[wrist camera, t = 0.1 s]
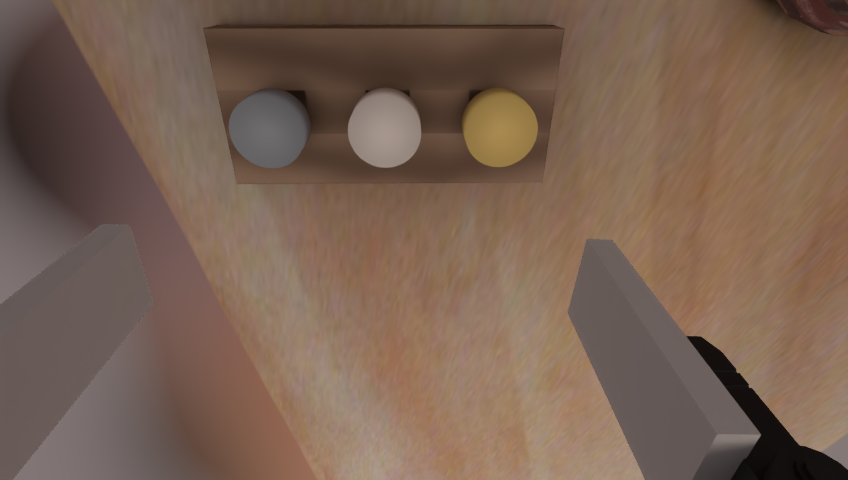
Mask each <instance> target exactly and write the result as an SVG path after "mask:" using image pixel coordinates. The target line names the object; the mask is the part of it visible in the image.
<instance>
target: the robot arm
mask: <svg viewBox="0 0 848 480" xmlns="http://www.w3.org/2000/svg"><path fill="white" fill-rule="evenodd" d="M153 303H154V302H153V299H152V295H151V292H150V289H149V286H148V282H147V279H146V276H145V273H144V269H143V266H142V263H141V260H140V256H139V253H138V250H137V247H136V244H135V240H134V237H133V234H132V230H131V227H130V225H115V224H102V225H100V226H99V227H98V228H96V229H95V230H94V231H93V232H91V233H90V234H89V235H88V236H86V237H85V238H84V239H82V240H81V241H80V242H79V243H77V244H76V245H75V246H74V247H72V248H71V249H70V250H69V251H67V252H66V253H65V254H64V255H62V256H61V257H60V258H59V259H57V260H56V261H55V262H53V263H52V264H51V265H50V266H48V267H47V268H46V269H45V270H43V271H42V272H41V273H40V274H38V275H37V276H36V277H34V278H33V279H32V280H31V281H29V282H28V283H27V284H26V285H24V286H23V287H22V288H20V289H19V290H18V291H17V292H15V293H14V294H13V295H12V296H10V297H9V298H8V299H7V300H5V301H4V302H3V303H2V304H0V480H13V479H14V477H15V476H16V475H17V474H18V473H19V471H20V470H21V469H22V468H23V466H24V465H25V464H26V463H27V461H28V460H29V459H30V457H31V456H32V455H33V454H34V452H35V451H36V450H37V449H38V447H39V446H40V445H41V444H42V442H43V441H44V440H45V439H46V437H47V436H48V435H49V434H50V432H51V431H52V430H53V429H54V427H55V426H56V425H57V424H58V422H59V421H60V420H61V418H62V417H63V416H64V415H65V414H66V412H67V411H68V410H69V408H70V407H71V406H72V405H73V404H74V402H75V401H76V400H77V399H78V397H79V396H80V395H81V393H82V392H83V391H84V390H85V388H86V387H87V386H88V385H89V383H90V382H91V381H92V380H93V379H94V377H95V376H96V375H97V374H98V372H99V371H100V370H101V369H102V367H103V366H104V365H105V363H106V362H107V361H108V360H109V359H110V357H111V356H112V355H113V354H114V352H115V351H116V350H117V348H118V347H119V346H120V345H121V343H122V342H123V341H124V340H125V338H126V337H127V336H128V335H129V333H130V332H131V331H132V330H133V328H134V327H135V326H136V325H137V323H138V322H139V321H140V320H141V318H142V317H143V316H144V315H145V313H146V312H147V311H148V310H149V308H150V307H151V306H152V305H153ZM568 314H569V317H570V319H571V321H572V323H573V325H574V327H575V329H576V332H577V334H578V336H579V338H580V340H581V342H582V345H583V347H584V349H585V351H586V353H587V355H588V357H589V360H590V362H591V364H592V366H593V368H594V370H595V373H596V375H597V377H598V379H599V381H600V383H601V385H602V388H603V390H604V392H605V394H606V396H607V398H608V401H609V403H610V405H611V407H612V409H613V411H614V413H615V416H616V418H617V420H618V422H619V424H620V426H621V429H622V431H623V433H624V435H625V437H626V439H627V441H628V444H629V446H630V448H631V450H632V452H633V454H634V457H635V459H636V461H637V463H638V465H639V467H640V469H641V472H642V474H643V476H644V478H645V480H848V470H847V469H846V468H845V467H844V466H843V465H841V464H840V463H839V462H837V461H835V460H833V459H832V458H830V457H828V456H827V455H825V454H823V453H822V452H819V451H816V450H813V449H811V448H808V447H805V446H800V445H799V444H798V443H797V442H796V441H795V440H794V439H793V437H792V436H791V435H790V434H789V432H788V431H787V430H786V429H785V428H784V426H783V425H782V424H781V423H780V422H779V420H778V419H777V418H776V417H775V416H774V414H773V413H772V412H771V411H770V410H769V408H768V407H767V406H766V405H765V404H764V402H763V401H762V400H761V399H760V397H759V396H758V395H757V394H756V393H755V391H754V390H753V389H752V388H749V386H748V385H749V384H748V383H747V382H746V381H745V379H744V378H743V377H742V376H741V375H740V373H737V372H736V369H735V367H734V366H733V365H732V364H731V362H730V361H729V360H728V359H727V358H726V356H725V355H724V354H723V353H722V352H721V351H720V350H718V349H717V348H716V347H714V346H713V345H712V344H710V343H709V342H708V341H706V340H705V339H703V338H702V337H698V336H685V334H684V333H683V332H682V330H681V329H680V328H679V326H678V325H677V324H676V323H675V321H674V320H673V319H672V317H671V316H670V315H669V313H668V312H667V311H666V309H665V308H664V307H663V306H662V304H661V303H660V302H659V300H658V299H657V298H656V296H655V295H654V294H653V292H652V291H651V290H650V289H649V287H648V286H647V285H646V283H645V282H644V281H643V279H642V278H641V277H640V275H639V274H638V273H637V272H636V270H635V269H634V268H633V266H632V265H631V264H630V262H629V261H628V260H627V258H626V257H625V256H624V255H623V253H622V252H621V251H620V249H619V248H618V247H617V245H616V244H615V243H614V241H613V240H600V239H587V240H586V244H585V248H584V252H583V256H582V260H581V264H580V267H579V271H578V275H577V279H576V283H575V287H574V291H573V295H572V298H571V302H570V306H569V310H568Z"/></svg>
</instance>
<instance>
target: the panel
mask: <svg viewBox="0 0 848 480" xmlns="http://www.w3.org/2000/svg"><path fill="white" fill-rule="evenodd" d="M204 34H205V38H206V43H207V48H208V52H209V57H210V61H211V66H212V70H213V75H214V80H215V84H216V89H217V93H218V98H219V103H220V107H221V112H222V116H223V121H224V126H225V130H226V135H227V139H228V144H229V149H230V153H231V158H232V162H233V167H234V171H235V176H236V181H237V184H332V183H501V182H543V175H544V168H545V161H546V154H547V147H548V140H549V133H550V126H551V119H552V112H553V105H554V98H555V91H556V84H557V77H558V70H559V63H560V56H561V49H562V42H563V35H564V29H563V28H560V27H557V26H555V25H216V26H212V27H208V28H204ZM498 87H499V88H507V89H510V90H512V91H514V92H516V93H517V94H519V95H520V96H521V97H522V98H523V99H524V100H525V102H526V103H527V104H528V105H529V106H530V107H531V109H532V110H533V112H534V113H535V116H536V119H537V123H538V133H537V138H536V141H535V143H534V145H533V147H532V149H531V150H530V151H529V153H528V154H527V155H526V156H525V157H524V158H522V159H521V160H520V161H518V162H516V163H514V164H512V165H509V166H505V167H491V166H487V165H485V164H483V163H481V162H479V161H478V160H476V159H475V158H474V157H473V156H472V154H471V153H470V151H469V150H468V147H467V145H466V142H465V138H464V135H463V132H462V117H463V113H464V110H465V108H466V106H467V105H468V103H469V102H470V101H471V100H472V99H473V98H474V97H475V96H476V95H477V94H479V93H480V92H482V91H484V90H487V89H490V88H498ZM264 88H277V89H281V90H284V91H287V92H289V93H290V94H292V95H294V96H295V97H296V98H297V99H298V100H299V101H300V102H301V103H302V104H303V105H304V107H305V108H306V110H307V112H308V114H309V118H310V122H311V133H310V137H309V139H308V141H307V143H306V145H305V146H304V148H303V149H302V151H301V153H300V154H299V156H298V157H297V158H296V159H295V160H294V161H293V162H292V163H290V164H288V165H286V166H284V167H280V168H264V167H261V166H258V165H255V164H253V163H251V162H250V161H248V160H247V159H245V158H244V157H243V156H242V155H241V154H240V153H239V152H238V150H237V149H236V148H235V146H234V144H233V142H232V140H231V137H230V133H229V119H230V116H231V113H232V111H233V110H234V108H235V107H236V106H237V105H238V104H239V103H240V102H241V101H243V100H244V99H246V98H247V97H248V96H250V95H251V94H252V93H254V92H256V91H258V90H260V89H264ZM378 88H392V89H396V90H399V91H401V92H403V93H404V94H406V95H407V96H408V97H410V98H411V100H412V101H413V102H414V103H415V105H416V107H417V109H418V111H419V114H420V121H421V140H420V144H419V147H418V149H417V151H416V152H415V153H414V155H413V156H412V157H411V158H410V159H409V160H408V161H406V162H405V163H403V164H401V165H398V166H395V167H390V168H381V167H376V166H373V165H371V164H368V163H367V162H365V161H363V160H362V159H361V158H360V157H359V156H358V155H357V154H356V153H355V151H354V150H353V148H352V146H351V144H350V141H349V138H348V123H349V120H350V117H351V115H352V112H353V110H354V108H355V106H356V104H357V102H358V101H359V100H360V98H361V97H362V96H364V95H365V94H366V93H368V92H370V91H371V90H374V89H378Z"/></svg>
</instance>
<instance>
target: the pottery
mask: <svg viewBox="0 0 848 480" xmlns="http://www.w3.org/2000/svg"><path fill="white" fill-rule="evenodd" d="M777 2H778V3H779V5H780V7H781V8H782V10H783V11H784V13H786V14H788V15H789V16H791V17H793V18H795V19H797V20H798V21H800V22H802V23H804V24H806V25H808V26H810V27H812V28H814V29H816V30H818V31H820V32H823V33H827V34H830V35H837V36H847V37H848V0H777Z"/></svg>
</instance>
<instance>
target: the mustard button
mask: <svg viewBox="0 0 848 480" xmlns="http://www.w3.org/2000/svg"><path fill="white" fill-rule="evenodd" d="M462 132H463V135H464V138H465V142H466V145H467V147H468V150H469V151H470V153H471V154H472V156H473V157H474V158H475V159H476V160H478V161H479V162H481V163H483V164H485V165H487V166H491V167H505V166H509V165H512V164H514V163H516V162H518V161H520V160H521V159H522V158H524V157H525V156H526V155H527V154H528V153H529V151H530V150H531V149H532V147H533V145H534V143H535V141H536V138H537V133H538V123H537V119H536V116H535V113H534V112H533V110H532V109H531V107H530V106H529V105H528V104H527V103H526V102H525V100H524V99H523V98H522V97H521V96H520V95H519V94H517V93H516V92H514V91H512V90H510V89H507V88H499V87H498V88H490V89H487V90H484V91H482V92H480V93H479V94H477V95H476V96H475V97H474V98H473V99H472V100H471V101H470V102H469V103H468V105H467V106H466V108H465V110H464V113H463V117H462Z"/></svg>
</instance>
